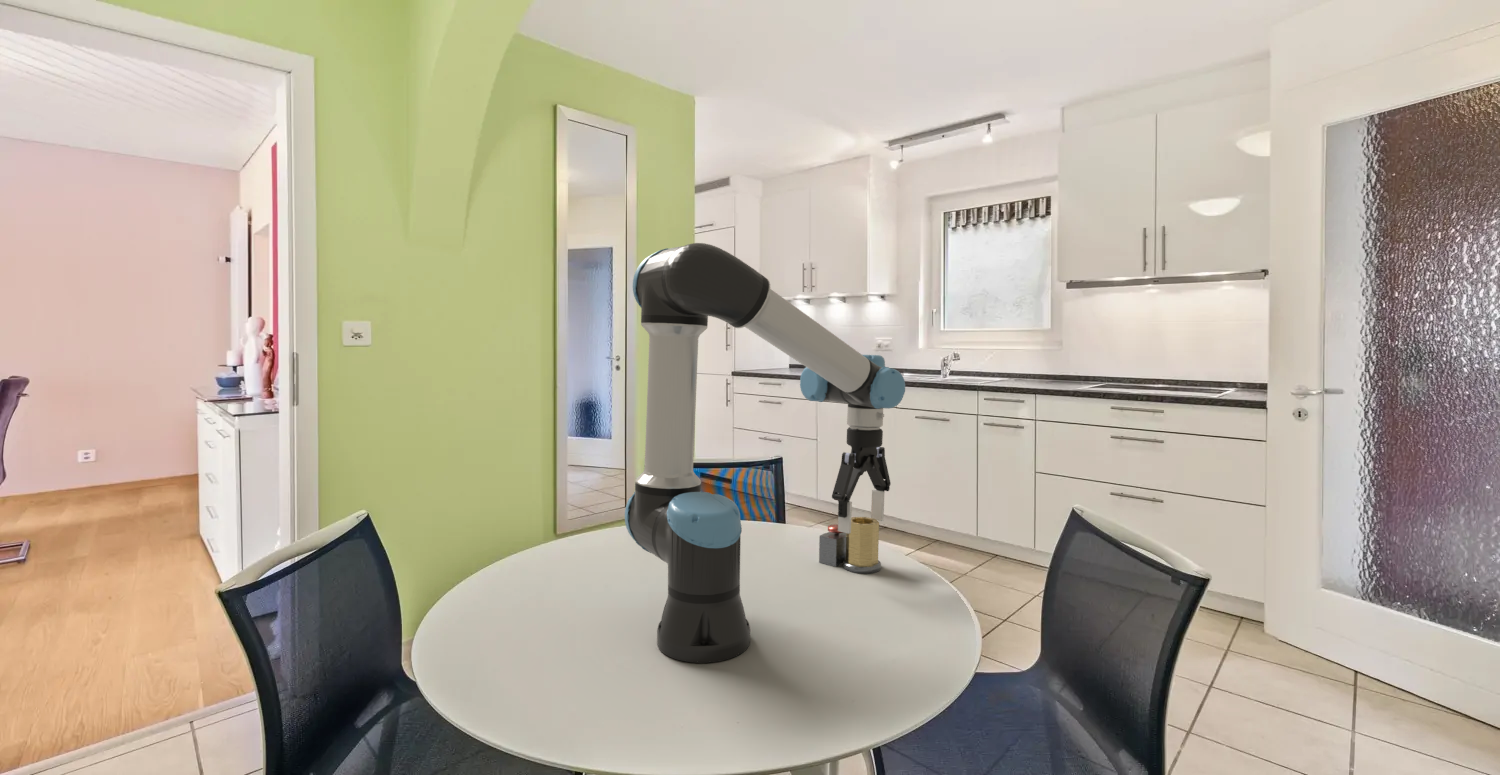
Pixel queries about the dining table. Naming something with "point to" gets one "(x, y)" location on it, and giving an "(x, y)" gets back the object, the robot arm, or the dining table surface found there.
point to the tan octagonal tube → (862, 542)
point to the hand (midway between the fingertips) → (861, 525)
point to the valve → (839, 552)
